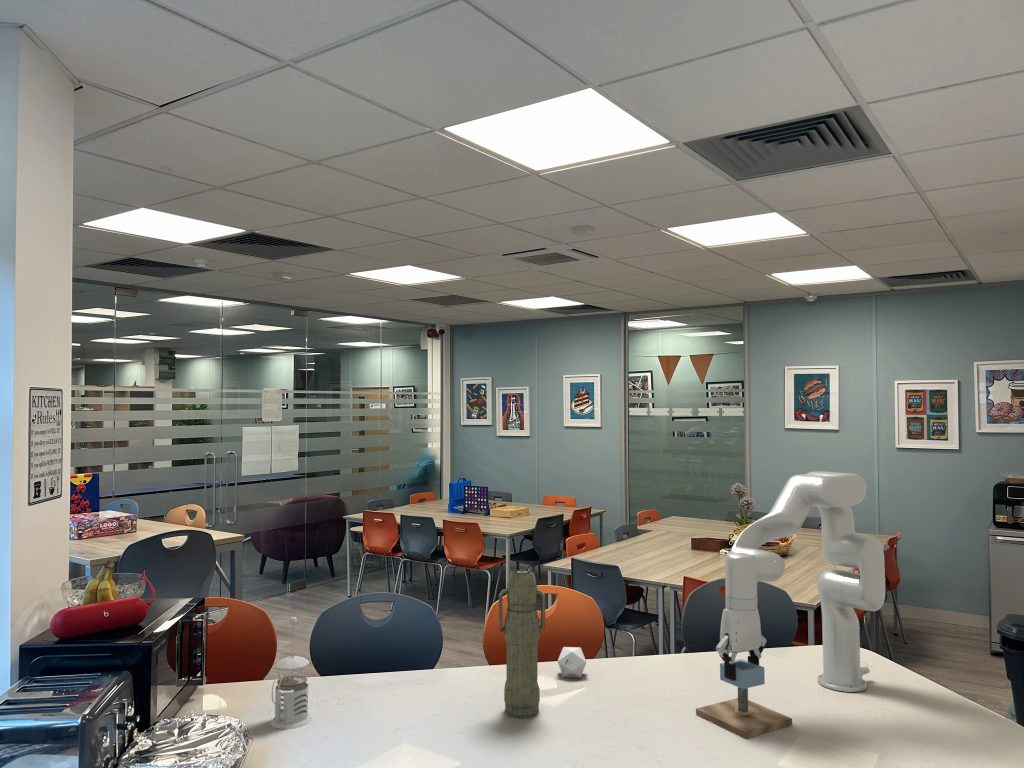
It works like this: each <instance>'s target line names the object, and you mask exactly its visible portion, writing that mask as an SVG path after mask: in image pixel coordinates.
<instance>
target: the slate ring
mask: <svg viewBox="0 0 1024 768" xmlns="http://www.w3.org/2000/svg"><path fill="white" fill-rule="evenodd" d="M734 664H736V680H735V681H732V680H730V679H727V678H725V676H724V662H720V663H719V679H720V681H722V682H724V683H727V684H730V685H732V686H734V687H736V688H738V687H739V688H742V689H745V688H748V689H749V688H753V687H758V686H762V685H765V682H766V681H765V680H766V679H765V667H764V666H762V665H760V664H759V665H756V664H753V663H751V662H748V660H745V659H744V658H743V659H742V658H740V659H735V661H734Z"/></svg>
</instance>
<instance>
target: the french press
mask: <svg viewBox="0 0 1024 768" xmlns="http://www.w3.org/2000/svg"><path fill="white" fill-rule="evenodd" d="M288 621H289V623H292V633H294V625H295V624H294V623H297V622H298V619H297V617H296V616H291V617H290V618H289V620H288ZM291 636H292V639H291V640H292V643H291V646H292V647H291V648H292V649H291V650H292V651H291V655H289V656H287V657H284V658H282V659H280V660H279V661H277V662H276V663H275V665H274V667H275V668H276V669H277V670H280V671H291V675H288V676H286V675H285V674H283V676H282V677H281V675H280V673H279V674H277V676H276V677H275V678H274V681H273V683H272V686H271V700H272V703H273V704H274V717H273V718H272V719H271V720H270V726H272V727H273V728H276V729H279V730H280V729H281V730H282V729H283V730H289V729H296V728H297V729H298V728H301V727H304V726H306V725H308V724H310V722H312V720H313V719H312V718H313V717H312V716H311V715H310V714H309V712H308V710H309V707H308V705H309V701H308V700H309V696H308V695H309V683H308V682H307V681H308V678H307V677H306V676H304V675H300V674H299V675H295V674H294V675H293V671H294V670H295V671H296V670H300V669H304V668H306V667H307V666H308V665H309V664H310V661H309V659H307V658H305V657H304V656H298V655H294V635H291ZM277 678H278V679H277ZM275 682H276V684H277V685H276V686H275ZM274 686H275V690H274ZM274 691H275V693H274ZM281 691H282V692H281ZM274 694H275V695H274ZM274 696H275V699H274ZM274 700H275V701H274ZM282 702H283V703H282Z"/></svg>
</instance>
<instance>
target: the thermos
mask: <svg viewBox="0 0 1024 768" xmlns="http://www.w3.org/2000/svg"><path fill="white" fill-rule="evenodd" d="M506 585H507V586H506V588H504V589H501V591H500V593H499V594H498V629H499V630H498V631H499V633H500V632H501V633H503V634H504V641H505V643H506V675H505V676H506V679H505V683H504V689H503V692H504V693H503V694H504V696H503V697H504V700H503V702H504V707H505V708H504V712H505V714H506V716H509V717H511V718H514V717H515V719H530V718H533V717H536V716H537V715H539V713H540V706H539V705H540V701H541V700H540V698H541V695H540V693H541V692H540V690H541V689H540V686H539V683H538V645H539V642H540V634H541V633H542V632H543V631H544V630H545V629H546V595H545V593H544V592H543V590H542V589H538V585H537V579H536V576H535V573H534V571H533V572H532V570H529V569H514V570H513V571H511V572H510V573H509V576H508V579H507V583H506ZM538 594H539V595H540V618H539V615H538V608H537V603H538ZM504 595H506V596H507V597H506V603H507V608H506V613H505V614H506V615H505V618H504V625H503V597H504ZM529 717H530V718H529Z"/></svg>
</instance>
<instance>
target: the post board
mask: <svg viewBox="0 0 1024 768" xmlns="http://www.w3.org/2000/svg"><path fill="white" fill-rule="evenodd" d="M695 715H696V716H698V717H699V718H701V719H704V720H706V721H708V722H711V723H712V724H714V725H716V726H718V727H721V728H722V729H725V730H726V731H729V732H731V733H733V734H735V735H737V736H739V737H740V738H743V739H749V738H751V737H756V736H759V735H761V734H765V733H770V732H772V731H775V730H779V729H780V730H781V729H782V728H786V727H790V726H793V718H792V717H790V716H788V715H785V714H783V713H780V712H777V711H776V710H773V709H771V708H768V707H767V706H764V705H761V704H759V703H756V702H755V701H751V700H750V699H749V688H745V689H742V688H739V687H737V697H736V698H733V699H729V700H724V701H719V702H716V703H713V704H708V705H705V706H702V707H696V709H695Z"/></svg>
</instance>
